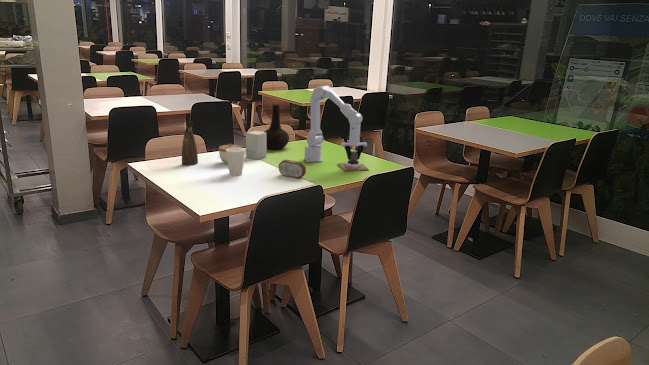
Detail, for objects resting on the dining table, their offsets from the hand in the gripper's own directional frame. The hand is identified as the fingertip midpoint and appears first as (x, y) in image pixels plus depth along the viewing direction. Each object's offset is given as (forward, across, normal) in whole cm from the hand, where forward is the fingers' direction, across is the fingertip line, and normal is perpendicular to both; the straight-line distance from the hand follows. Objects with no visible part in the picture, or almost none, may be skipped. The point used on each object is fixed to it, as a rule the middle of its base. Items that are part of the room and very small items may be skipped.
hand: (353, 158), depth 272 cm
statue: (+5, -89, +17) cm, 91 cm away
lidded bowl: (+5, -67, +17) cm, 69 cm away
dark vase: (+5, -36, +52) cm, 63 cm away
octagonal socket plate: (+5, 0, 0) cm, 5 cm away
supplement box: (+5, -51, +29) cm, 59 cm away
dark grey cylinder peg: (+2, 0, 0) cm, 2 cm away
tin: (+5, -38, -14) cm, 41 cm away
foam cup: (+5, -66, -6) cm, 66 cm away
